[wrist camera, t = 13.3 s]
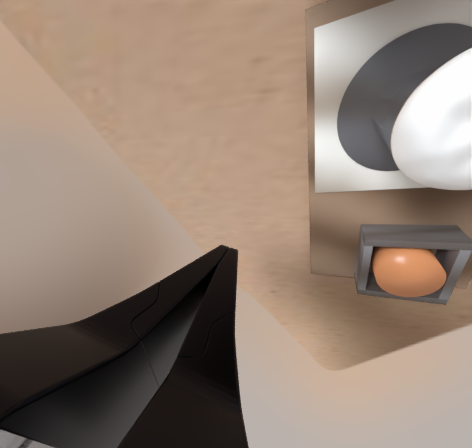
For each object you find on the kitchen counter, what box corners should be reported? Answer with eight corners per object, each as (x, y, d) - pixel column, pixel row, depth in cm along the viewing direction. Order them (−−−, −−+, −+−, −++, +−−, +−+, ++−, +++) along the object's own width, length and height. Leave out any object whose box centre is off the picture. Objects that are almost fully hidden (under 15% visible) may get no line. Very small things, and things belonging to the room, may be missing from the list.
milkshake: (488, 82, 11) (878, 69, 3) (390, 157, 14) (471, 238, 7) (431, 23, 11) (728, -148, 3) (344, 115, 14) (374, 149, 6)
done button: (372, 233, 18) (379, 255, 16) (436, 235, 16) (455, 259, 14) (366, 269, 20) (372, 293, 18) (422, 274, 19) (436, 300, 16)
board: (306, 13, 13) (302, -5, 10) (662, -122, 8) (826, -222, 5) (311, 268, 24) (309, 289, 21) (460, 281, 18) (482, 311, 16)
